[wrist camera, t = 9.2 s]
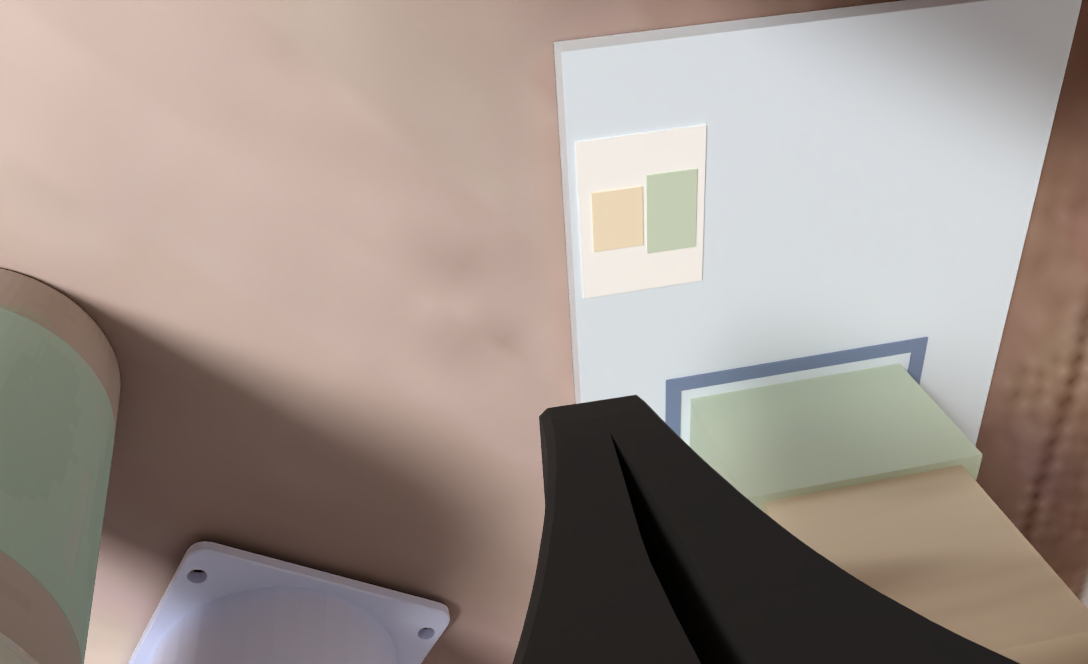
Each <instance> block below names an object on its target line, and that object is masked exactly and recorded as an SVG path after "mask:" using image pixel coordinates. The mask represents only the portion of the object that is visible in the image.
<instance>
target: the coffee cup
mask: <svg viewBox="0 0 1088 664" xmlns="http://www.w3.org/2000/svg"><path fill="white" fill-rule="evenodd" d="M120 390H121V379H120V371H119V366H118V362H117V359H116V356H115V354H114V351H113V349H112V347H111V345H110V343H109V341H108V339H107V338H106V336H105V335H104V333H103V332H102V330H101V329H100V328H99V326H98V325H97V324H96V323H95V322H94V320H93V319H92V318H91V317H90V316H89V315H88V314H87V313H86V312H85V311H84V310H82V309H81V308H80V307H79V306H78V305H77V304H75V303H74V302H73V301H72V300H70V299H69V298H67V297H66V296H65V295H63V294H61V293H60V292H58V291H56V290H55V289H53V288H51V287H49V286H47V285H45V284H43V283H41V282H39V281H37V280H35V279H32V278H30V277H27V276H24V275H22V274H19V273H16V272H12V271H9V270H5V269H1V268H0V664H84V658H85V650H86V643H87V636H88V629H89V621H90V614H91V607H92V599H93V592H94V585H95V578H96V570H97V563H98V556H99V548H100V541H101V534H102V527H103V519H104V512H105V505H106V498H107V490H108V483H109V476H110V468H111V461H112V454H113V447H114V438H115V430H116V422H117V414H118V406H119V399H120Z"/></svg>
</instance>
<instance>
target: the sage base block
mask: <svg viewBox="0 0 1088 664" xmlns="http://www.w3.org/2000/svg"><path fill="white" fill-rule="evenodd" d="M690 447H691V448H692V449H693V450H694V451H695V452H696V453H697V454H698V455H699V456H700V457H701V458H702V459H703V460H704V461H705V462H706V463H708V464H709V465H710V466H711V467H712V468H713V469H714V470H715V471H716V472H718V473H719V474H720V475H721V476H722V477H723V478H724V479H726V480H727V481H728V482H729V483H730V484H731V485H732V486H733V487H735V488H736V489H737V490H738V491H739V492H740V493H741V494H743V495H744V496H745V497H746V498H747V499H749V500H750V501H751V502H752V503H753V504H755V505H756V506H757V507H758V508H759V509H761V510H762V511H763V507H764V502H768V501H773V500H778V499H783V498H789V497H794V496H799V495H804V494H810V493H815V492H820V491H825V490H831V489H836V488H841V487H846V486H852V485H857V484H862V483H868V482H873V481H878V480H883V479H889V478H894V477H899V476H904V475H910V474H915V473H920V472H925V471H931V470H936V469H941V468H946V467H952V466H957V465H962V466H963V467H964V468H965V469H966V470H967V472H968V473H969V474H970V475H971V476H972V477H973V478H974V480H975V481H976V480H977V476H978V472H979V468H980V464H981V460H982V456H983V454H982V453H981V452H980V451H979V450H978V449H977V448H976V447H975V446H974V445H973V443H972V442H971V441H970V440H969V439H968V438H967V437H966V436H965V435H964V434H963V433H962V431H961V430H960V429H959V428H958V427H957V426H956V425H955V424H954V423H953V422H952V420H951V419H950V418H949V417H948V416H947V415H946V414H945V413H944V412H943V411H942V410H941V408H940V407H939V406H938V405H937V404H936V403H935V402H934V401H933V400H932V399H931V397H930V396H929V395H928V394H927V393H926V392H925V391H924V390H923V389H922V388H921V387H920V385H919V384H918V383H917V382H916V381H915V380H914V379H913V378H912V377H911V376H910V375H909V373H908V372H907V371H906V370H905V369H904V368H903V367H902V366H901V365H900V364H899V363H898V364H892V365H886V366H880V367H874V368H869V369H863V370H857V371H851V372H845V373H839V374H833V375H827V376H821V377H815V378H809V379H803V380H797V381H792V382H786V383H780V384H774V385H768V386H762V387H756V388H750V389H744V390H738V391H732V392H726V393H721V394H715V395H709V396H703V397H697V398H691V405H690Z"/></svg>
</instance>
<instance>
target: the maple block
mask: <svg viewBox="0 0 1088 664" xmlns="http://www.w3.org/2000/svg"><path fill="white" fill-rule="evenodd" d="M763 512H764V513H766V514H767V515H768V516H769V517H771V518H772V519H773V520H775V521H776V522H777V523H778V524H780V525H781V526H782V527H784V528H785V529H786V530H787V531H789V532H790V533H791V534H793V535H794V536H795V537H797V538H798V539H799V540H801V541H802V542H803V543H805V544H806V545H808V546H809V547H810V548H812V549H813V550H815V551H816V552H817V553H819V554H820V555H822V556H824V557H825V558H827V559H828V560H830V561H831V562H833V563H834V564H836V565H837V566H839V567H840V568H842V569H843V570H845V571H846V572H848V573H849V574H851V575H852V576H854V577H855V578H857V579H859V580H860V581H862V582H864V583H865V584H867V585H869V586H870V587H872V588H874V589H875V590H877V591H879V592H880V593H882V594H884V595H886V596H888V597H889V598H891V599H893V600H895V601H897V602H898V603H900V604H902V605H904V606H906V607H907V608H909V609H911V610H913V611H915V612H916V613H918V614H920V615H922V616H924V617H925V618H927V619H929V620H931V621H933V622H935V623H937V624H939V625H941V626H943V627H945V628H946V629H948V630H950V631H952V632H954V633H956V634H958V635H960V636H962V637H964V638H966V639H969V640H971V641H973V642H975V643H977V644H979V645H981V646H984V647H986V648H988V649H990V650H992V651H994V652H996V653H999V654H1001V655H1003V656H1005V657H1007V658H1009V659H1011V660H1013V661H1016V662H1018V663H1020V664H1088V609H1087V608H1086V607H1085V606H1084V605H1083V604H1082V602H1081V601H1080V600H1079V599H1078V598H1077V597H1076V596H1075V594H1074V593H1073V592H1072V591H1071V590H1070V589H1069V587H1068V586H1067V585H1066V584H1065V583H1064V582H1063V581H1062V579H1061V578H1060V577H1059V576H1058V575H1057V574H1056V573H1055V571H1054V570H1053V569H1052V568H1051V567H1050V566H1049V565H1048V563H1047V562H1046V561H1045V560H1044V559H1043V558H1042V556H1041V555H1040V554H1039V553H1038V552H1037V551H1036V550H1035V548H1034V547H1033V546H1032V545H1031V544H1030V543H1029V542H1028V540H1027V539H1026V538H1025V537H1024V536H1023V535H1022V534H1021V532H1020V531H1019V530H1018V529H1017V528H1016V527H1015V525H1014V524H1013V523H1012V522H1011V521H1010V520H1009V519H1008V517H1007V516H1006V515H1005V514H1004V513H1003V512H1002V511H1001V509H1000V508H999V507H998V506H997V505H996V504H995V503H994V501H993V500H992V499H991V498H990V497H989V496H988V494H987V493H986V492H985V491H984V490H983V489H982V488H981V486H980V485H979V484H978V483H977V482H976V481H975V480H974V478H973V477H972V476H971V475H970V474H969V473H968V472H967V470H966V469H965V468H964V467H963V466H962V465H957V466H952V467H946V468H941V469H936V470H931V471H925V472H920V473H915V474H910V475H904V476H899V477H894V478H889V479H883V480H878V481H873V482H868V483H862V484H857V485H852V486H846V487H841V488H836V489H831V490H825V491H820V492H815V493H810V494H804V495H799V496H794V497H789V498H783V499H778V500H773V501H768V502H764V507H763Z"/></svg>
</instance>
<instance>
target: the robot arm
mask: <svg viewBox="0 0 1088 664" xmlns="http://www.w3.org/2000/svg"><path fill="white" fill-rule="evenodd" d="M539 421H540V435H541V449H542V464H543V478H544V492H545V517H544V526H543V533H542V539H541V545H540V551H539V558H538V564H537V570H536V575H535V580H534V585H533V590H532V594H531V599H530V603H529V607H528V611H527V615H526V619H525V623H524V627H523V631H522V634H521V638H520V641H519V644H518V648H517V651H516V654H515V658H514V661H513V664H1020V663H1018V662H1016V661H1013V660H1011V659H1009V658H1007V657H1005V656H1003V655H1001V654H999V653H996V652H994V651H992V650H990V649H988V648H986V647H984V646H981V645H979V644H977V643H975V642H973V641H971V640H969V639H966V638H964V637H962V636H960V635H958V634H956V633H954V632H952V631H950V630H948V629H946V628H945V627H943V626H941V625H939V624H937V623H935V622H933V621H931V620H929V619H927V618H925V617H924V616H922V615H920V614H918V613H916V612H915V611H913V610H911V609H909V608H907V607H906V606H904V605H902V604H900V603H898V602H897V601H895V600H893V599H891V598H889V597H888V596H886V595H884V594H882V593H880V592H879V591H877V590H875V589H874V588H872V587H870V586H869V585H867V584H865V583H864V582H862V581H860V580H859V579H857V578H855V577H854V576H852V575H851V574H849V573H848V572H846V571H845V570H843V569H842V568H840V567H839V566H837V565H836V564H834V563H833V562H831V561H830V560H828V559H827V558H825V557H824V556H822V555H820V554H819V553H817V552H816V551H815V550H813V549H812V548H810V547H809V546H808V545H806V544H805V543H803V542H802V541H801V540H799V539H798V538H797V537H795V536H794V535H793V534H791V533H790V532H789V531H787V530H786V529H785V528H784V527H782V526H781V525H780V524H778V523H777V522H776V521H775V520H773V519H772V518H771V517H769V516H768V515H767V514H766V513H764V512H763V511H762V510H761V509H759V508H758V507H757V506H756V505H755V504H753V503H752V502H751V501H750V500H749V499H747V498H746V497H745V496H744V495H743V494H741V493H740V492H739V491H738V490H737V489H736V488H735V487H733V486H732V485H731V484H730V483H729V482H728V481H727V480H726V479H724V478H723V477H722V476H721V475H720V474H719V473H718V472H716V471H715V470H714V469H713V468H712V467H711V466H710V465H709V464H708V463H706V462H705V461H704V460H703V459H702V458H701V457H700V456H699V455H698V454H697V453H696V452H695V451H694V450H693V449H692V448H691V447H690V446H689V445H687V444H686V443H685V442H684V441H683V440H682V439H681V438H680V437H679V436H678V435H677V434H676V433H675V432H674V431H673V430H672V429H671V428H670V427H669V426H668V425H667V424H666V423H665V422H664V421H663V420H662V419H661V418H660V417H659V416H658V415H657V414H656V413H655V412H654V411H653V409H652V408H651V407H650V406H649V405H648V404H647V403H646V402H645V401H644V400H642V399H641V398H640V397H639V396H637V395H631V396H624V397H618V398H611V399H605V400H598V401H592V402H585V403H579V404H573V405H566V406H560V407H553V408H547V409H546V410H545V411H544V412H543V413H542V414H541V415H540V416H539ZM195 569H196V570H202V571H204V572H201V573H197V572H194V571H192V570H195ZM449 622H450V616H449V609H448V607H447V606H446V605H444V604H442V603H439V602H436V601H432V600H428V599H424V598H421V597H417V596H413V595H409V594H406V593H402V592H398V591H394V590H391V589H387V588H383V587H379V586H376V585H372V584H368V583H364V582H360V581H357V580H353V579H349V578H345V577H342V576H338V575H334V574H330V573H327V572H323V571H319V570H315V569H312V568H308V567H304V566H300V565H297V564H293V563H289V562H285V561H281V560H278V559H274V558H270V557H266V556H263V555H259V554H255V553H251V552H248V551H244V550H240V549H236V548H233V547H229V546H225V545H221V544H218V543H214V542H207V541H203V542H197V543H195V544H193V545H191V546H190V547H189V548H188V550H187V551H186V553H185V555H184V557H183V559H182V561H181V563H180V565H179V566H178V568H177V570H176V572H175V574H174V576H173V578H172V580H171V582H170V583H169V585H168V587H167V589H166V591H165V593H164V595H163V597H162V599H161V601H160V602H159V604H158V606H157V608H156V610H155V612H154V614H153V616H152V618H151V619H150V621H149V623H148V625H147V627H146V629H145V631H144V633H143V635H142V636H141V638H140V640H139V642H138V644H137V646H136V648H135V650H134V652H133V654H132V655H131V657H130V659H129V661H128V663H127V664H421V663H422V661H423V660H424V658H425V657H426V656H427V654H428V653H429V651H430V650H431V649H432V647H433V646H434V644H435V643H436V642H437V640H438V639H439V637H440V636H441V635H442V633H443V632H444V630H445V629H446V628H447V626H448V625H449ZM422 628H428V629H422Z"/></svg>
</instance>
